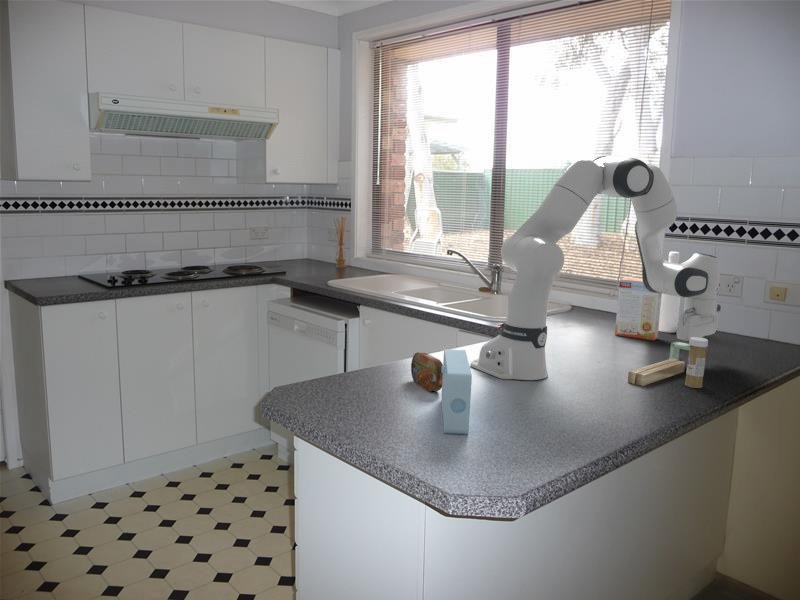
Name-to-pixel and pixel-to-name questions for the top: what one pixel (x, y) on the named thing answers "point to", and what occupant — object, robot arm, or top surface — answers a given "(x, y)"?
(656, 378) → the tong arm
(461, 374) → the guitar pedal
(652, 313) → the cracker box
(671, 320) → the bottle
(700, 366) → the sprinkles bottle
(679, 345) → the sleeve
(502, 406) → the top surface
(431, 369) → the tin
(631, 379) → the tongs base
